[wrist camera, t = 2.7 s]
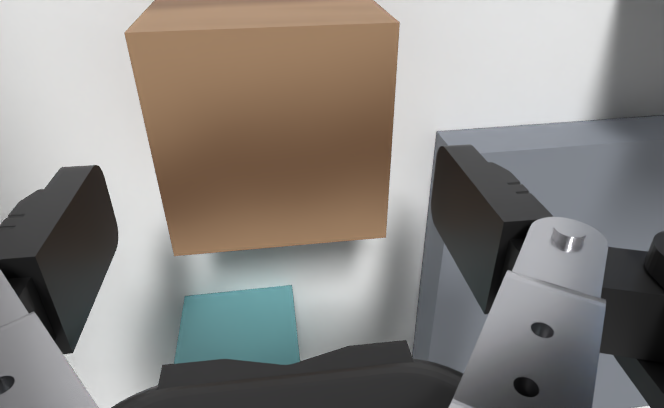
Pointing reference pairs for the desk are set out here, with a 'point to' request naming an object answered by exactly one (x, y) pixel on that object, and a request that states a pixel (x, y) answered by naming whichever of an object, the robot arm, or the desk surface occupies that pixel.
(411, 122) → the desk surface
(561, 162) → the slate gray board
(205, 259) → the desk surface
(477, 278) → the robot arm
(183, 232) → the walnut block
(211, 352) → the teal block
